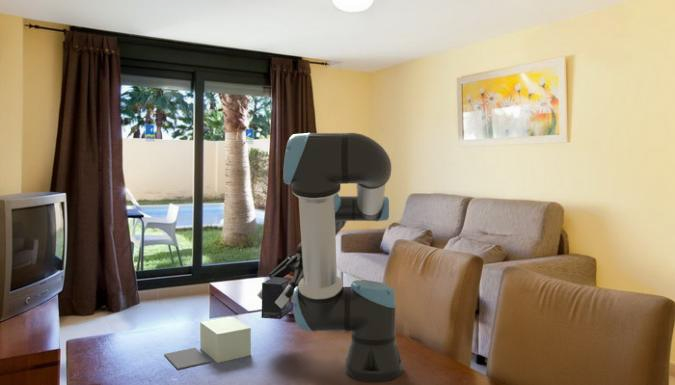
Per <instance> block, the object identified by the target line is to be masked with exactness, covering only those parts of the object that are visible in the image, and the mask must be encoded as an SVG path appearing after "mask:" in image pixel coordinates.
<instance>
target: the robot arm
mask: <svg viewBox="0 0 675 385" xmlns="http://www.w3.org/2000/svg"><path fill="white" fill-rule="evenodd" d="M283 161H284V162H283V172H282V173H283V174H282V175H283V183H284V184H286V185H290V186H291V192H292V194H293V195H294V196H295V197H296V198H298V207H299V208H298V210H299V224H300V238H301V239H300V240H301V242H299V244H298V245H297V246H296V250H297V253H296V254H294V255H293V254H292V253H289V254H288V255H287V257H285V259H284V260H283V261H281V262H280V263H279V264H278V265H277V266H276V267H275V268H274V269H273V270H272V271H270V272H269V273H268V274H267V275H268V277H269V279H271V278H273V277H282V278H286V276H287V275H289V274H290V273H293V278H292V282H290V283H291V284H290V283H289V284H290V285H291V286H290V285H288V286H287V287H286V289H285V290H284V291H283V292H282V294H281V295H280V296H279V298H278V299H277V300H276V301H275V303H276V304H277V305H278V306H279V307H280V308H283V306H284V305H285V304H286V303H287V301H288V300H289V299H290V297H291V298H292V301H293V310H292V311H293V313H294V314H293V318H295V319H294V320H295V324H296V326H297V327H298V328H299V329H300V330H301V331H306V332H307V331H308V332H316V333H317V332H344V333H345V332H351V343H350V345H349V349H348V351H347V352H348V353H347V356H346V358H345V362H344V371H345V373H346V374H347V375H348V376H349V377H350V378H353V379H356V380H359V381H365V382H375V383H376V382H385V381H387V382H388V381H391V380H394V379H396V378H398V377H400V376H401V375H402V373H403V361H402V359H401V355H400V351H399V348H398V346H397V343H396V307H397V303H396V292H395V290H394V289H393V287H391V285H388V284H386V283H383V282H378V281H374V280H369V279H368V280H367V279H357V280H353V281H351V284H350V286H344V283H343V281H342V279H341V277H339V276H338V275H337V268H338V267H337V244H336V242H337V241H336V240H337V239H336V237H337V235H338V234H339V233H340V231H341V230H342V229H343V228H344V227H345V225H346V223H347V222H351V221H353V222H354V221H355V222H382V221H388V219H389V217H390V216H389V215H390V199H389V197H387V196H385V192H386V191H385V190H386V184H387V183H388V181H389V180H390V178H391V174H392V160H391V158H390V156H389V153H387V151H386V150H385V149H384V148H383V147H382V146H381V144H379V143H378V142H377V141H376V140H374V139H372V137H369V136H367V135H365V134H362V133H357V132H345V133H344V132H341V133H339V132H331V133H330V132H329V133H328V132H327V133H325V132H320V133H319V132H307V133H295V134H292V135H291V136H290V137H289V139H288V140H287V142H286V148H285V152H284V160H283ZM342 184H344V185H345V184H346V185H347V184H356V195H351V196H350V195H349V196H345V195H344V196H343V195H339V194H338V193H339V192H340V191H341V185H342ZM256 296H257V297H258V298H259V299H260V300H262V288H260V290H259V292H258V293H257V294H256Z"/></svg>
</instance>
